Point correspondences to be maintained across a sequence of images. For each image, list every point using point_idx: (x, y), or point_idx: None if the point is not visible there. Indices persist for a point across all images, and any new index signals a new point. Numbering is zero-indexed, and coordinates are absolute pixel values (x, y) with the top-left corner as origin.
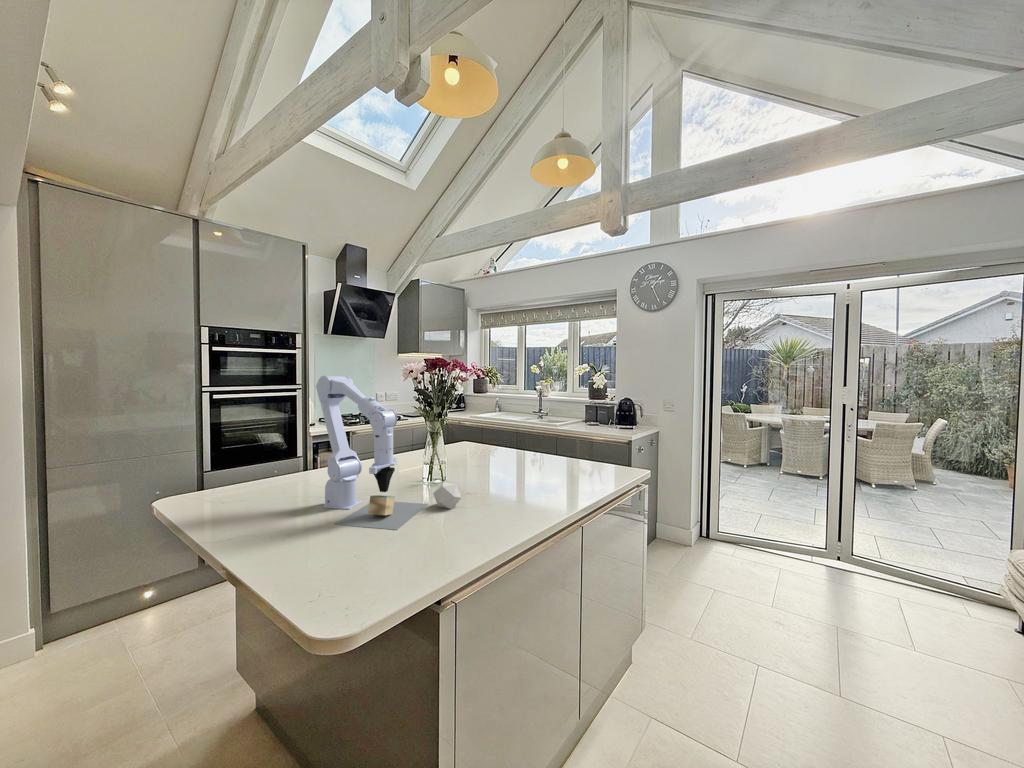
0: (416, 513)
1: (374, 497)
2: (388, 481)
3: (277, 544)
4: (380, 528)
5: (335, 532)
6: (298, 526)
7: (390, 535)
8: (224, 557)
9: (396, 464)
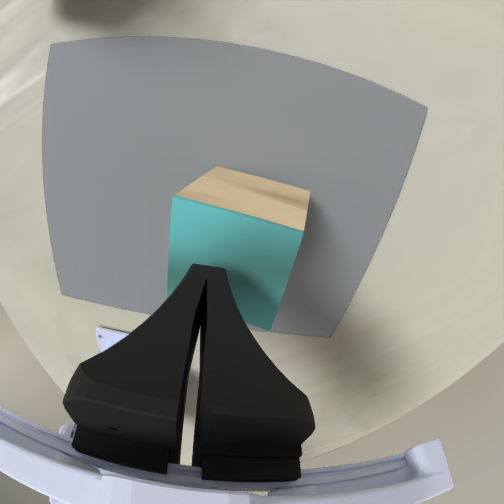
0: (198, 42)
1: (278, 303)
2: (193, 314)
3: (417, 371)
4: (404, 178)
5: (393, 309)
6: (322, 389)
7: (462, 131)
8: (434, 393)
9: (125, 480)
